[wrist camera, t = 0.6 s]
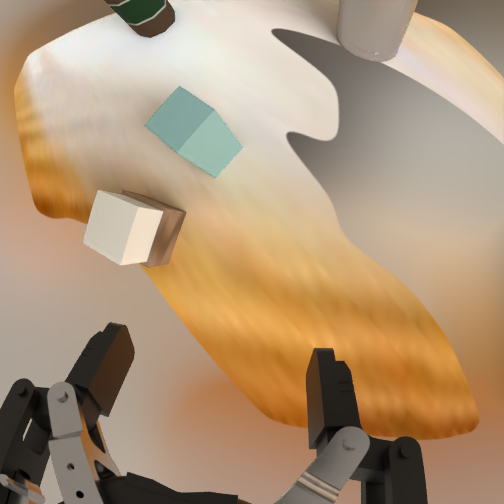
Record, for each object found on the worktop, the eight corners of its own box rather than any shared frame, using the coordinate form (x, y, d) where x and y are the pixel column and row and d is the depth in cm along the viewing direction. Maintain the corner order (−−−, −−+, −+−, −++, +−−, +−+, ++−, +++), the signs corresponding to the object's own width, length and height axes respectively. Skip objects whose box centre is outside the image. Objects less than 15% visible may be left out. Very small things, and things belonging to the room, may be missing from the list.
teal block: (214, 126, 33) (179, 86, 22) (242, 147, 32) (214, 109, 21) (189, 155, 33) (144, 125, 23) (215, 178, 33) (176, 153, 22)
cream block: (124, 195, 30) (98, 189, 25) (163, 211, 29) (138, 206, 24) (110, 242, 31) (82, 242, 26) (146, 261, 30) (120, 265, 25)
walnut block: (144, 195, 35) (122, 190, 30) (186, 212, 34) (168, 208, 29) (128, 243, 36) (106, 244, 31) (168, 263, 35) (148, 267, 30)
